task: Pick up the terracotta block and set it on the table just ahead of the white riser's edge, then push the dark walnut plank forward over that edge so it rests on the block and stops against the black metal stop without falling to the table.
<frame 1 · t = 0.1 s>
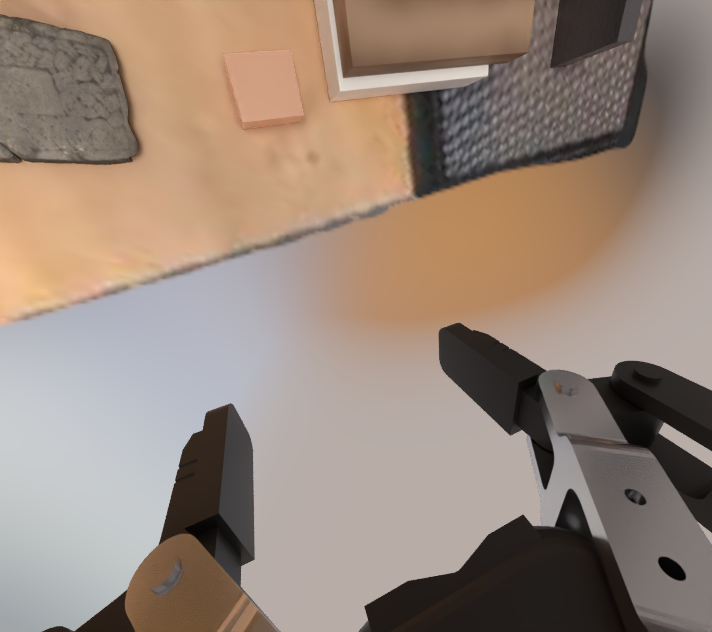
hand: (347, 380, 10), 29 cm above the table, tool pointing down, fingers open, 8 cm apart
stop: (566, 6, 35), on the table
support block: (264, 97, 29), on the table
riser: (396, 12, 30), on the table
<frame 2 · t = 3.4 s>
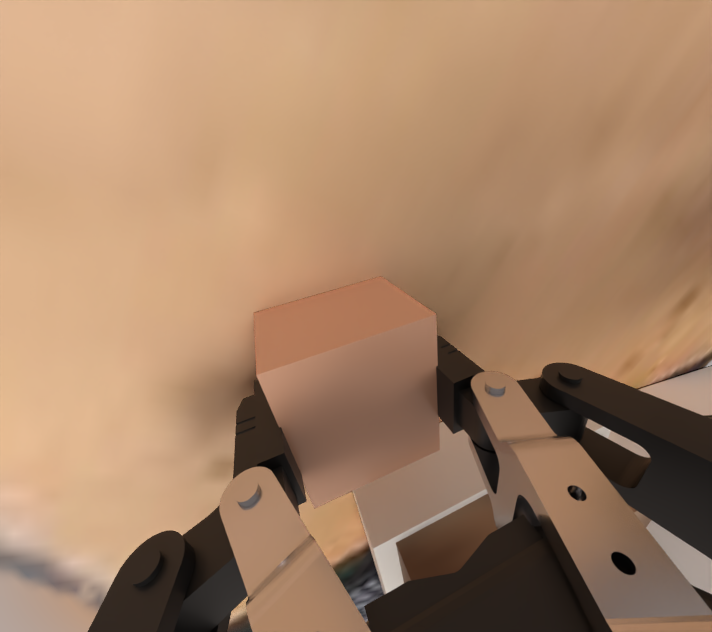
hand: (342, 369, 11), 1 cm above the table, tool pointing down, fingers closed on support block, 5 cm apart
gable box: (627, 431, 28), on the table
support block: (336, 356, 12), on the table, touching gripper
riser: (453, 498, 21), on the table
plank: (492, 570, 18), point 4 cm above the table, touching riser
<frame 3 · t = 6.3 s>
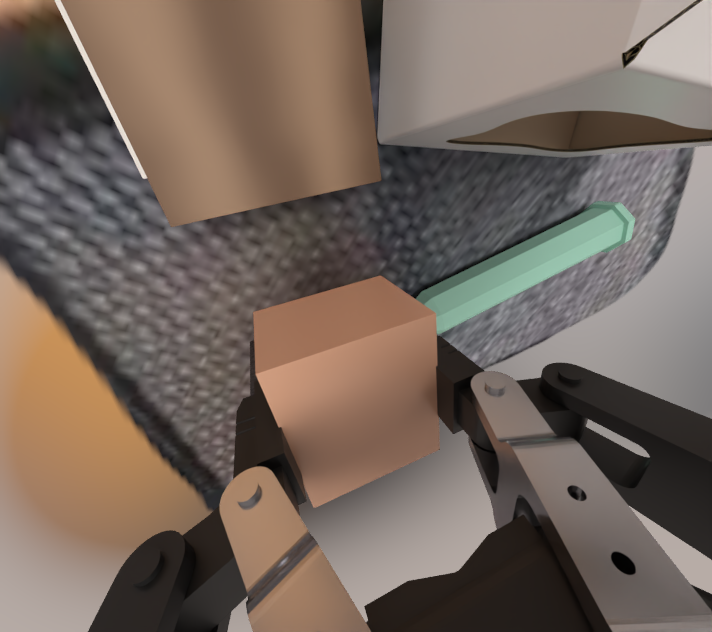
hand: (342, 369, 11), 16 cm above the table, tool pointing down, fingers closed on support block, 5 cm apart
gable box: (498, 61, 23), on the table
support block: (335, 356, 12), point 15 cm above the table, touching gripper
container: (497, 263, 33), on the table
when the fingers open (2 cm above the table, at t = 9.4 s): support block drops 1 cm, on the table.
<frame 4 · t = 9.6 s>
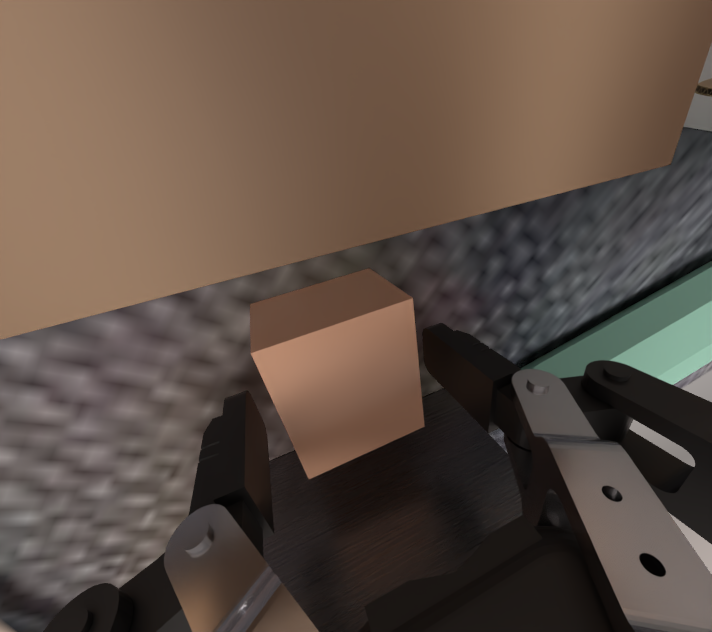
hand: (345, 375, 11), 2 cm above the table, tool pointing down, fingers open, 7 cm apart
stop: (354, 442, 16), on the table
support block: (328, 343, 13), on the table
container: (630, 308, 21), on the table
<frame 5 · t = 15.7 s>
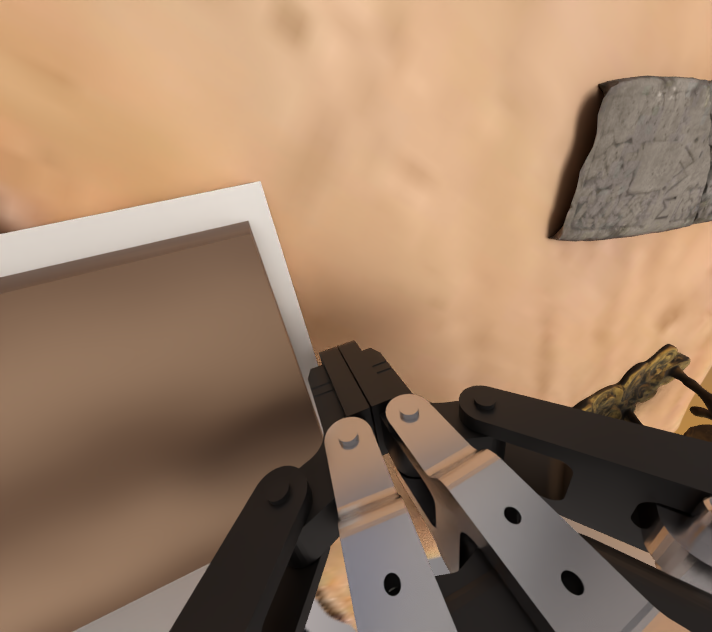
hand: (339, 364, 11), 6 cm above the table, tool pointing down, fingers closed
gable box: (204, 583, 23), on the table
riser: (123, 372, 14), on the table
plank: (27, 455, 10), point 4 cm above the table, touching gripper, riser
stone slab: (679, 166, 23), on the table
figurine: (617, 395, 37), on the table
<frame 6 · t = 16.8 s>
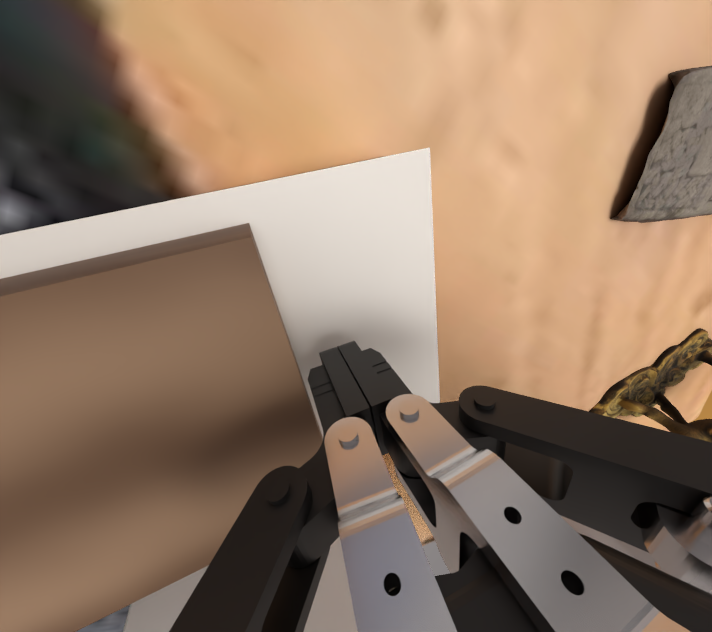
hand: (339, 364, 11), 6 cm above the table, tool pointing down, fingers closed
gable box: (281, 544, 24), on the table
riser: (254, 330, 15), on the table
plank: (26, 456, 10), point 4 cm above the table, touching gripper, riser
figurine: (648, 379, 39), on the table
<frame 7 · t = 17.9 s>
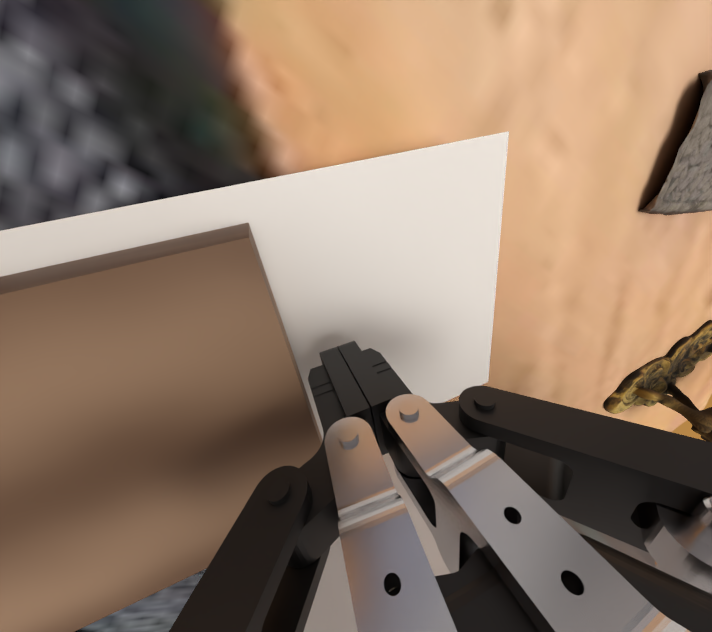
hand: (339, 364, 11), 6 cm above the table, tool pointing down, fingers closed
gable box: (320, 524, 25), on the table
riser: (319, 308, 16), on the table
plank: (23, 456, 10), point 4 cm above the table, touching gripper, riser
figurine: (661, 369, 40), on the table
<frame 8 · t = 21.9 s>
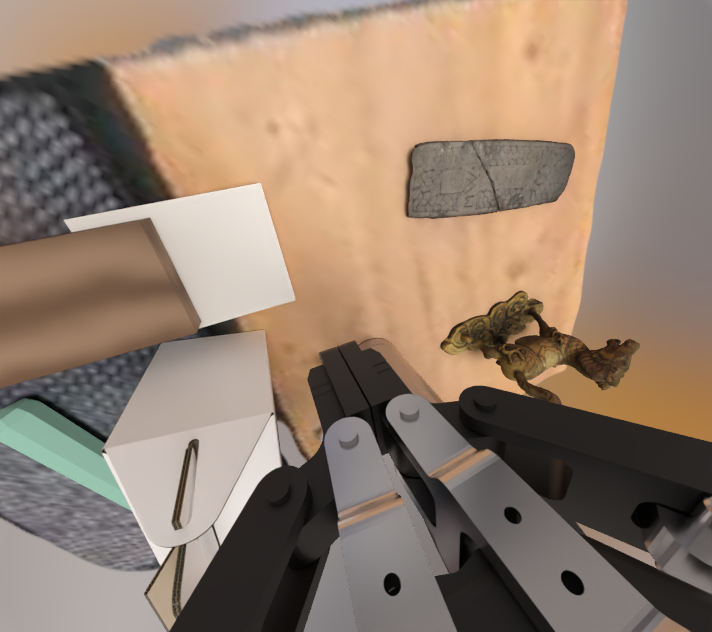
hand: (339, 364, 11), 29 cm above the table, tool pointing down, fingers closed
gable box: (228, 395, 43), on the table
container: (105, 447, 40), on the table
riser: (204, 258, 34), on the table
plank: (72, 299, 28), point 4 cm above the table, touching riser, support block
stone slab: (487, 179, 43), on the table
figurine: (491, 326, 57), on the table
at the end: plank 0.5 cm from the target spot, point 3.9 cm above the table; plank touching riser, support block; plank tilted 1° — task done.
